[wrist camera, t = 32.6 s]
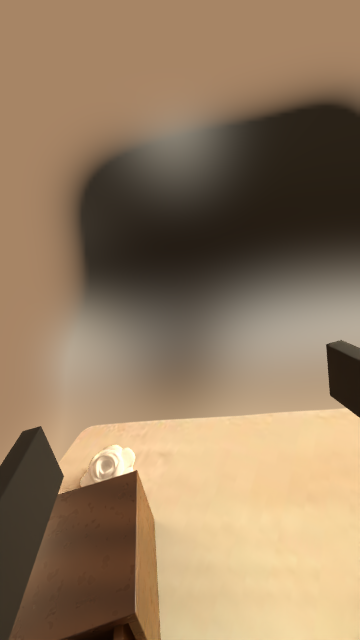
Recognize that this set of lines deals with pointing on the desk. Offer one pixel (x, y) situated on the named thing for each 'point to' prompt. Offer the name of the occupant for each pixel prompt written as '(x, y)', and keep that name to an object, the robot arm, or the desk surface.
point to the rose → (108, 465)
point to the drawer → (114, 634)
